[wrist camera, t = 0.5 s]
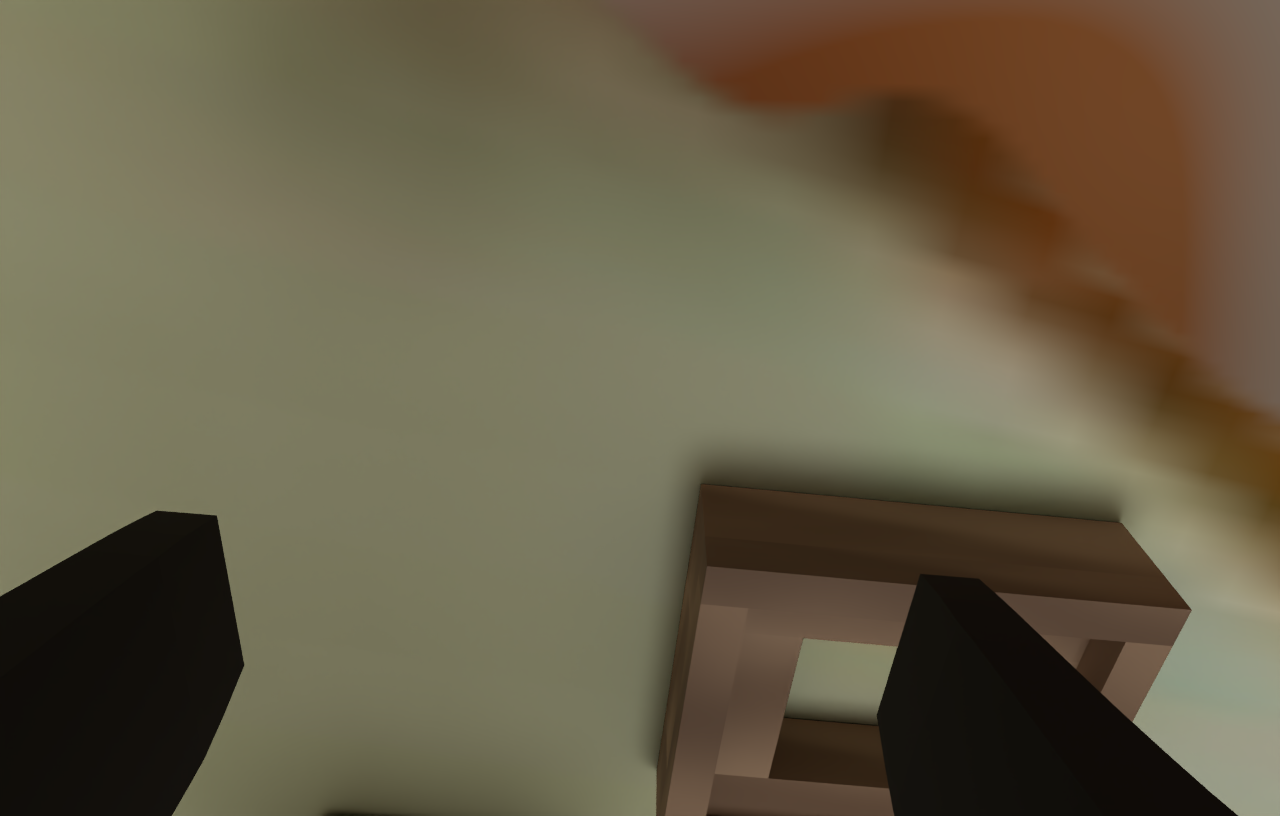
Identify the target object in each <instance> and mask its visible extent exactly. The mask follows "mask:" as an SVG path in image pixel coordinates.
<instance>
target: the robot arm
mask: <svg viewBox="0 0 1280 816" xmlns="http://www.w3.org/2000/svg"><path fill="white" fill-rule="evenodd" d="M243 667H244V661H243V656H242V650H241V645H240V640H239V634H238V629H237V623H236V618H235V612H234V607H233V601H232V596H231V590H230V585H229V580H228V574H227V569H226V563H225V558H224V552H223V547H222V541H221V536H220V530H219V525H218V520H217V516H215V515H203V514H191V513H178V512H166V511H155V512H153V513H151V514H149V515H147V516H145V517H143V518H141V519H139V520H137V521H135V522H133V523H131V524H129V525H127V526H125V527H123V528H121V529H119V530H117V531H116V532H114V533H112V534H110V535H108V536H107V537H105V538H103V539H101V540H99V541H97V542H96V543H94V544H92V545H90V546H89V547H87V548H85V549H83V550H81V551H80V552H78V553H76V554H74V555H73V556H71V557H69V558H67V559H66V560H64V561H62V562H60V563H58V564H57V565H55V566H53V567H51V568H50V569H48V570H46V571H44V572H43V573H41V574H39V575H37V576H36V577H34V578H32V579H30V580H29V581H27V582H25V583H23V584H22V585H20V586H18V587H16V588H15V589H13V590H11V591H9V592H7V593H6V594H4V595H2V596H0V816H172V814H173V813H174V811H175V809H176V807H177V806H178V804H179V802H180V801H181V799H182V797H183V795H184V794H185V792H186V790H187V788H188V787H189V785H190V783H191V781H192V780H193V778H194V776H195V774H196V773H197V771H198V769H199V767H200V765H201V764H202V762H203V760H204V758H205V756H206V754H207V751H208V749H209V747H210V745H211V743H212V740H213V738H214V736H215V734H216V731H217V729H218V727H219V725H220V722H221V720H222V718H223V716H224V713H225V711H226V708H227V706H228V703H229V701H230V699H231V696H232V694H233V691H234V689H235V686H236V684H237V682H238V679H239V677H240V674H241V672H242V669H243ZM877 719H878V726H879V732H880V738H881V745H882V751H883V757H884V764H885V770H886V775H887V780H888V786H889V791H890V797H891V802H892V807H893V812H894V816H1238V815H1237V814H1235V813H1234V812H1233V811H1232V810H1231V809H1229V808H1228V807H1227V806H1226V805H1225V804H1224V803H1222V802H1221V801H1220V800H1219V799H1218V798H1217V797H1215V796H1214V795H1213V794H1212V793H1211V792H1209V791H1208V790H1207V789H1206V788H1205V787H1204V786H1203V785H1201V784H1200V783H1199V782H1198V781H1197V780H1196V779H1195V778H1194V777H1192V776H1191V775H1190V774H1189V773H1188V772H1187V771H1186V770H1185V769H1183V768H1182V767H1181V766H1180V765H1179V764H1178V763H1177V762H1176V761H1174V760H1173V759H1172V758H1171V757H1170V756H1169V755H1168V754H1167V753H1166V752H1164V751H1163V750H1162V749H1161V748H1160V747H1159V746H1158V745H1157V744H1156V743H1155V742H1153V741H1152V740H1151V739H1150V738H1149V737H1148V736H1147V735H1146V734H1145V733H1144V732H1142V731H1141V730H1140V729H1139V728H1138V727H1137V726H1136V725H1135V724H1134V723H1133V722H1132V721H1131V720H1129V719H1128V718H1127V717H1126V716H1125V715H1124V714H1123V713H1122V712H1121V711H1120V710H1119V709H1118V708H1117V707H1115V706H1114V705H1113V704H1112V703H1111V702H1110V701H1109V700H1108V699H1107V698H1106V697H1105V696H1104V695H1103V694H1102V693H1101V692H1099V691H1098V690H1097V689H1096V688H1095V687H1094V686H1093V685H1092V684H1091V683H1090V682H1089V681H1088V680H1087V679H1086V678H1085V677H1084V676H1083V675H1082V674H1080V673H1079V672H1078V671H1077V670H1076V669H1075V668H1074V667H1073V666H1072V665H1071V664H1070V663H1069V662H1068V661H1067V660H1066V659H1065V658H1064V657H1063V656H1062V655H1061V654H1060V653H1058V652H1057V651H1056V650H1055V649H1054V648H1053V647H1052V646H1051V645H1050V644H1049V643H1048V642H1047V641H1046V640H1045V639H1044V638H1043V637H1042V636H1041V635H1040V634H1039V633H1038V632H1037V631H1035V630H1034V629H1033V628H1032V627H1031V626H1030V625H1029V624H1028V623H1027V622H1026V621H1025V620H1024V619H1023V618H1022V617H1021V616H1020V615H1019V614H1018V613H1017V612H1015V611H1014V610H1013V609H1012V608H1011V607H1010V606H1009V605H1008V604H1007V603H1006V602H1005V601H1004V600H1003V599H1001V598H1000V597H999V596H998V595H997V594H996V593H995V592H994V591H993V590H991V589H990V588H989V587H988V586H987V585H986V584H985V583H983V582H982V581H981V580H980V579H978V578H966V577H954V576H942V575H930V574H920V576H919V579H918V582H917V586H916V589H915V592H914V596H913V599H912V602H911V605H910V609H909V612H908V615H907V618H906V622H905V625H904V628H903V631H902V635H901V638H900V641H899V644H898V648H897V651H896V654H895V658H894V661H893V664H892V667H891V671H890V674H889V677H888V680H887V684H886V687H885V690H884V693H883V697H882V700H881V703H880V706H879V710H878V713H877Z"/></svg>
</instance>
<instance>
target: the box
mask: <svg viewBox="0 0 1280 816" xmlns="http://www.w3.org/2000/svg"><path fill="white" fill-rule="evenodd" d="M920 574H930V575H942V576H954V577H966V578H978V579H980V580H981V581H982V582H983V583H985V584H986V585H987V586H988V587H989V588H990V589H991V590H993V591H994V592H995V593H996V594H997V595H998V596H999V597H1000V598H1001V599H1003V600H1004V601H1005V602H1006V603H1007V604H1008V605H1009V606H1010V607H1011V608H1012V609H1013V610H1014V611H1015V612H1017V613H1018V614H1019V615H1020V616H1021V617H1022V618H1023V619H1024V620H1025V621H1026V622H1027V623H1028V624H1029V625H1030V626H1031V627H1032V628H1033V629H1034V630H1035V631H1037V632H1038V633H1039V634H1040V635H1041V636H1042V637H1043V638H1044V639H1045V640H1046V641H1047V642H1048V643H1049V644H1050V645H1051V646H1052V647H1053V648H1054V649H1055V650H1056V651H1057V652H1058V653H1060V654H1061V655H1062V656H1063V657H1064V658H1065V659H1066V660H1067V661H1068V662H1069V663H1070V664H1071V665H1072V666H1073V667H1074V668H1075V669H1076V670H1077V671H1078V672H1079V673H1080V674H1082V675H1083V676H1084V677H1085V678H1086V679H1087V680H1088V681H1089V682H1090V683H1091V684H1092V685H1093V686H1094V687H1095V688H1096V689H1097V690H1098V691H1099V692H1101V693H1102V694H1103V695H1104V696H1105V697H1106V698H1107V699H1108V700H1109V701H1110V702H1111V703H1112V704H1113V705H1114V706H1115V707H1117V708H1118V709H1119V710H1120V711H1121V712H1122V713H1123V714H1124V715H1125V716H1126V717H1127V718H1128V719H1129V720H1131V721H1133V720H1134V718H1135V716H1136V714H1137V712H1138V710H1139V708H1140V706H1141V704H1142V703H1143V701H1144V699H1145V697H1146V695H1147V693H1148V691H1149V689H1150V688H1151V686H1152V684H1153V682H1154V680H1155V678H1156V676H1157V674H1158V673H1159V671H1160V669H1161V667H1162V665H1163V663H1164V661H1165V659H1166V658H1167V656H1168V654H1169V652H1170V650H1171V648H1172V646H1173V644H1174V643H1175V641H1176V639H1177V637H1178V635H1179V633H1180V631H1181V629H1182V627H1183V626H1184V624H1185V622H1186V620H1187V618H1188V616H1189V614H1190V612H1191V611H1192V610H1191V608H1190V607H1189V606H1188V605H1187V604H1186V602H1185V601H1184V600H1183V599H1182V597H1181V596H1180V595H1179V594H1178V592H1177V591H1176V590H1175V589H1174V587H1173V586H1172V585H1171V584H1170V582H1169V581H1168V580H1167V579H1166V577H1165V576H1164V575H1163V574H1162V573H1161V571H1160V570H1159V569H1158V568H1157V566H1156V565H1155V564H1154V563H1153V561H1152V560H1151V559H1150V558H1149V556H1148V555H1147V554H1146V553H1145V551H1144V550H1143V549H1142V548H1141V546H1140V545H1139V544H1138V543H1137V542H1136V540H1135V539H1134V538H1133V537H1132V535H1131V534H1130V533H1129V532H1128V530H1127V529H1126V528H1125V527H1124V525H1123V524H1122V523H1116V522H1105V521H1094V520H1084V519H1073V518H1062V517H1051V516H1041V515H1030V514H1019V513H1008V512H997V511H987V510H976V509H965V508H954V507H944V506H933V505H922V504H911V503H900V502H890V501H879V500H868V499H857V498H847V497H836V496H825V495H814V494H803V493H793V492H782V491H771V490H760V489H750V488H739V487H728V486H717V485H706V484H701V488H700V494H699V501H698V507H697V514H696V520H695V527H694V533H693V540H692V546H691V552H690V559H689V565H688V572H687V578H686V585H685V591H684V598H683V604H682V611H681V617H680V624H679V630H678V636H677V643H676V649H675V656H674V662H673V669H672V675H671V682H670V688H669V695H668V701H667V708H666V714H665V721H664V727H663V733H662V740H661V746H660V753H659V759H658V766H657V792H656V816H894V812H893V807H892V802H891V797H890V791H889V786H888V780H887V775H886V770H885V764H884V757H883V751H882V745H881V738H880V732H879V726H871V725H859V724H848V723H836V722H824V721H813V720H801V719H790V718H783V717H784V713H785V709H786V705H787V701H788V697H789V693H790V689H791V685H792V681H793V677H794V673H795V669H796V665H797V661H798V657H799V653H800V649H801V645H802V641H803V638H808V639H819V640H831V641H842V642H853V643H864V644H876V645H887V646H898V644H899V641H900V638H901V635H902V631H903V628H904V625H905V622H906V618H907V615H908V612H909V609H910V605H911V602H912V599H913V596H914V592H915V589H916V586H917V582H918V579H919V576H920Z"/></svg>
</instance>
